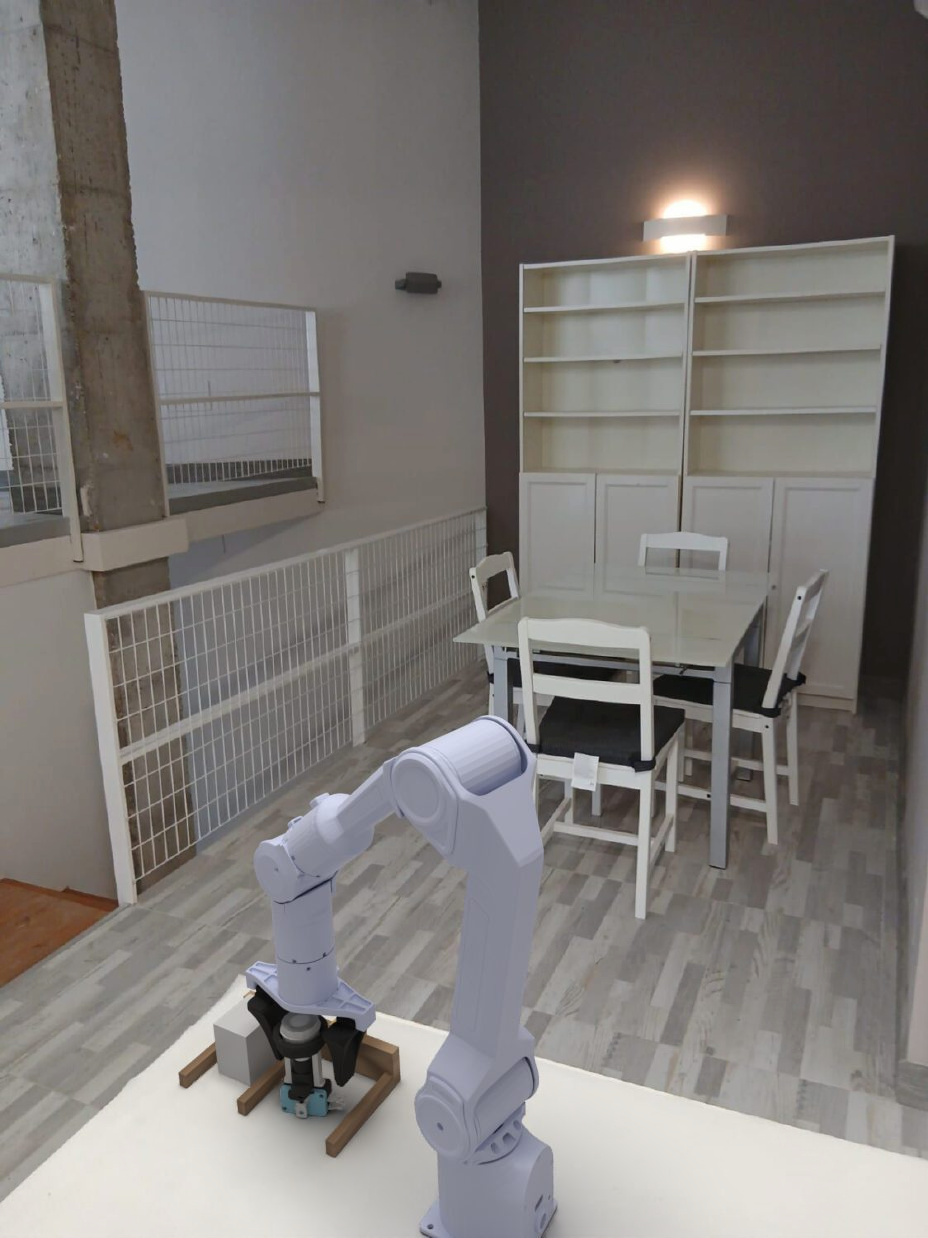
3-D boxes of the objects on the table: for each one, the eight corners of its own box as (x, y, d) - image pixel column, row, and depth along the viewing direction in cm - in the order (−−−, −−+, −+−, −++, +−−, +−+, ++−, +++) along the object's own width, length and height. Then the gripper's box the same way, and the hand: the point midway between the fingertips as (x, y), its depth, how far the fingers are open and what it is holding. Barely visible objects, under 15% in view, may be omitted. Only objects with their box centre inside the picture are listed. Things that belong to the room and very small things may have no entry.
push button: (353, 1093, 94) (347, 1007, 91) (336, 1133, 89) (329, 1043, 86) (291, 1085, 95) (284, 1000, 93) (271, 1124, 90) (263, 1036, 88)
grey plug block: (285, 1054, 100) (281, 1006, 98) (250, 1087, 95) (245, 1037, 94) (254, 1041, 102) (249, 993, 100) (218, 1073, 97) (213, 1023, 96)
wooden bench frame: (400, 1080, 95) (398, 1042, 94) (334, 1158, 86) (331, 1116, 85) (253, 1021, 105) (250, 985, 104) (179, 1085, 96) (175, 1047, 94)
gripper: (390, 944, 89) (397, 1065, 92) (274, 907, 96) (284, 1020, 99) (347, 986, 83) (355, 1113, 86) (226, 943, 90) (238, 1062, 93)
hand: (314, 1067), depth 92 cm, fingers open, 7 cm apart
